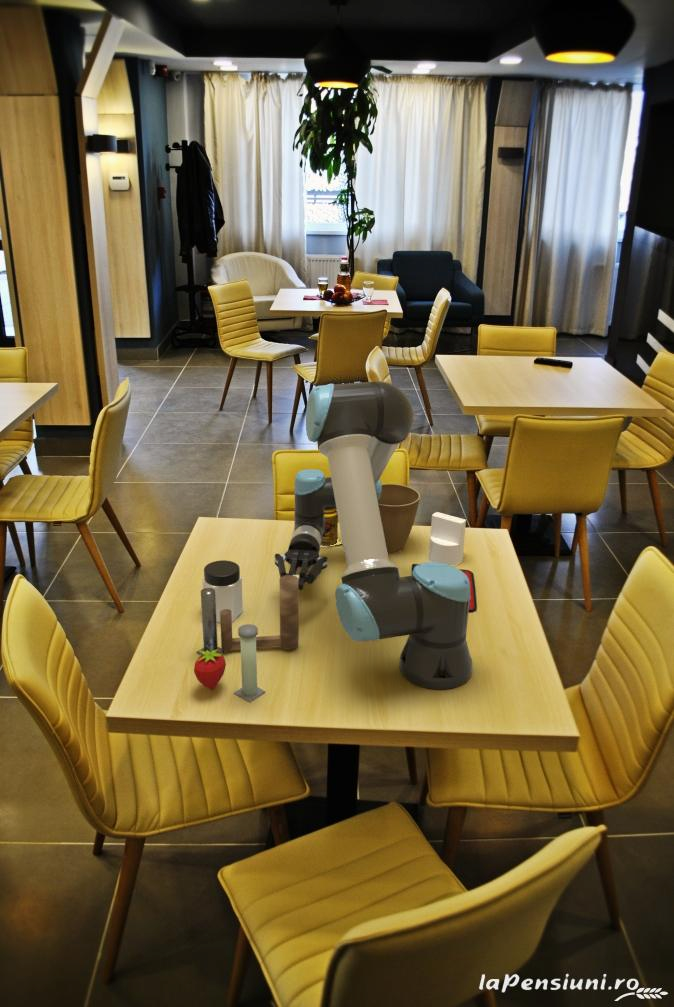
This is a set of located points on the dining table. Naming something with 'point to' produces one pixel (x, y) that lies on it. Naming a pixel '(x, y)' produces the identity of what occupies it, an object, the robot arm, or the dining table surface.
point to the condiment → (330, 526)
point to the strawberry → (209, 668)
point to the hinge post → (209, 621)
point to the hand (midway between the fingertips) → (292, 594)
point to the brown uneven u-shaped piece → (287, 621)
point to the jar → (225, 586)
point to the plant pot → (397, 514)
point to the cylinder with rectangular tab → (447, 539)
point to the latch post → (248, 663)
